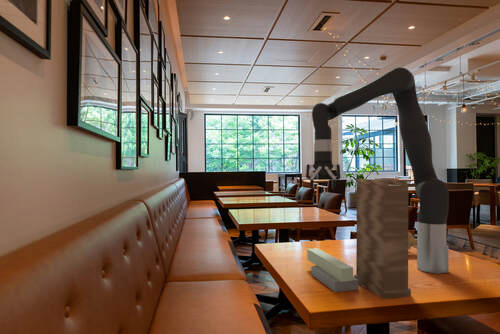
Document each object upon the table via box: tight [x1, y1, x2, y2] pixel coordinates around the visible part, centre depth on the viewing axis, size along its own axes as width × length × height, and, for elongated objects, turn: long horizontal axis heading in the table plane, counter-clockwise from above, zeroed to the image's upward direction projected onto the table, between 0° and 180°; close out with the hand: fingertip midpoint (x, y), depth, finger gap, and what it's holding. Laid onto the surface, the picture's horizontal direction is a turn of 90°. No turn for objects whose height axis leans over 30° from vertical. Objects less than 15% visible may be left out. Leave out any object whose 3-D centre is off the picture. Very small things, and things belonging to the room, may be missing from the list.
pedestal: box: [353, 178, 412, 300], centre depth 100 cm, size 15×9×34 cm, turn 15°
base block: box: [310, 265, 359, 293], centre depth 106 cm, size 16×8×3 cm, turn 15°
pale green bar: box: [306, 247, 354, 282], centre depth 109 cm, size 24×4×4 cm, turn 15°
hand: (322, 188), depth 138 cm, fingers open, 8 cm apart
